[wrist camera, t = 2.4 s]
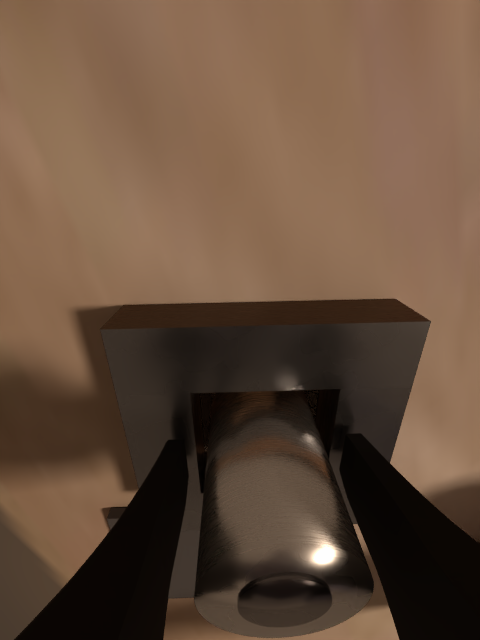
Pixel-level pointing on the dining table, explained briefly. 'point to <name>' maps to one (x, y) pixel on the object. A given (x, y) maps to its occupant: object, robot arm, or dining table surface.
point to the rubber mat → (176, 559)
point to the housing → (261, 371)
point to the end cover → (274, 523)
